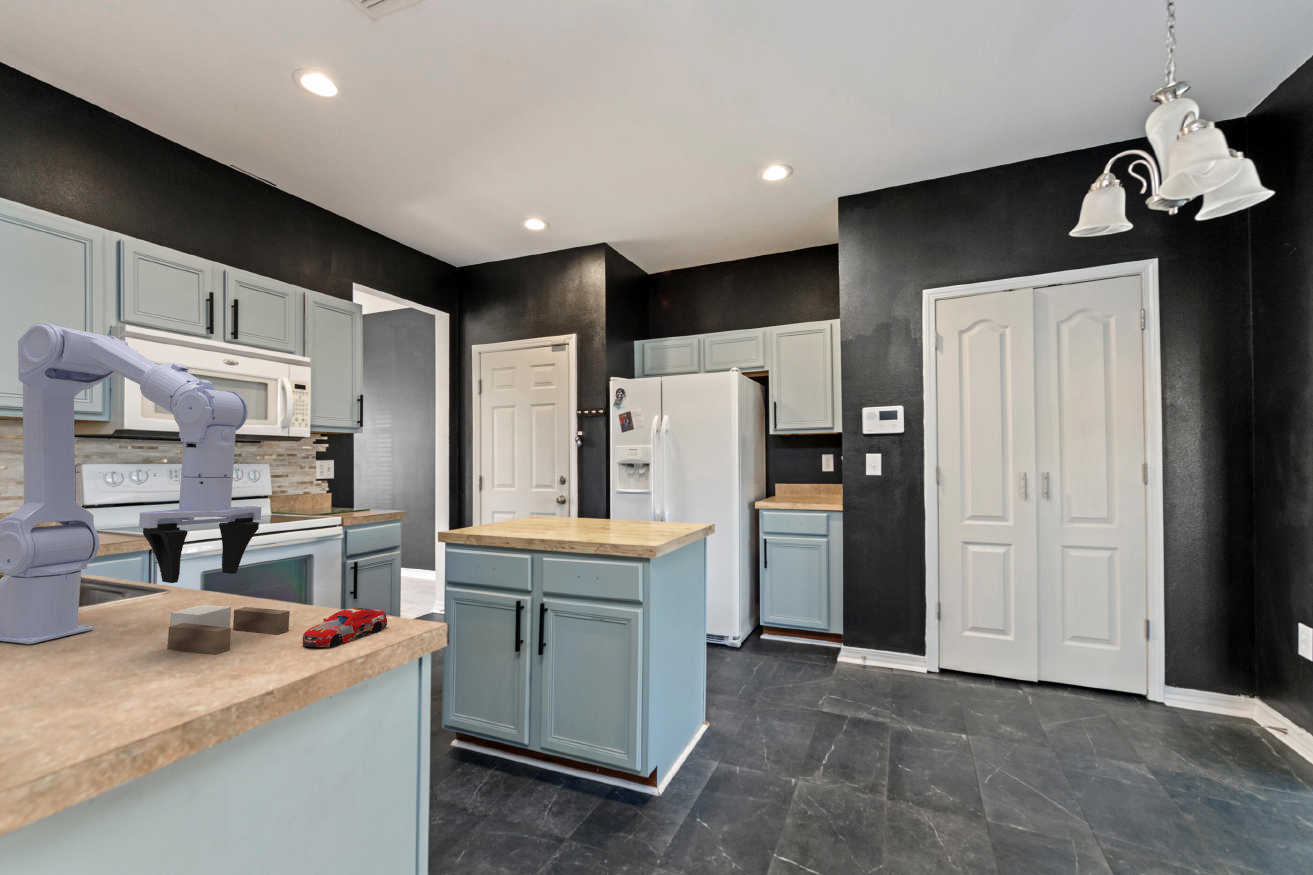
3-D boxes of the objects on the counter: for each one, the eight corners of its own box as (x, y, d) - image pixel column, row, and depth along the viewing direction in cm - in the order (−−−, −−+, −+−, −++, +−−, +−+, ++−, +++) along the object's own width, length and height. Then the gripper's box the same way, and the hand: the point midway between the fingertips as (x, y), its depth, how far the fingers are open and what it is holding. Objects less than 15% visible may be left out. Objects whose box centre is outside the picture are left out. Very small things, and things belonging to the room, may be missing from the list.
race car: (322, 654, 83) (323, 624, 83) (292, 649, 85) (293, 620, 85) (393, 629, 96) (394, 603, 96) (366, 625, 97) (367, 600, 98)
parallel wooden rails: (167, 648, 82) (168, 626, 83) (244, 626, 94) (245, 606, 94) (216, 654, 81) (217, 631, 81) (288, 630, 92) (289, 610, 93)
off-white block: (168, 640, 87) (170, 612, 87) (201, 631, 92) (203, 604, 92) (197, 643, 86) (199, 614, 86) (229, 634, 90) (231, 607, 91)
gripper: (167, 478, 75) (159, 589, 75) (278, 477, 89) (272, 571, 88) (131, 476, 78) (124, 584, 77) (244, 475, 91) (239, 567, 91)
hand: (201, 577), depth 83 cm, fingers open, 7 cm apart
